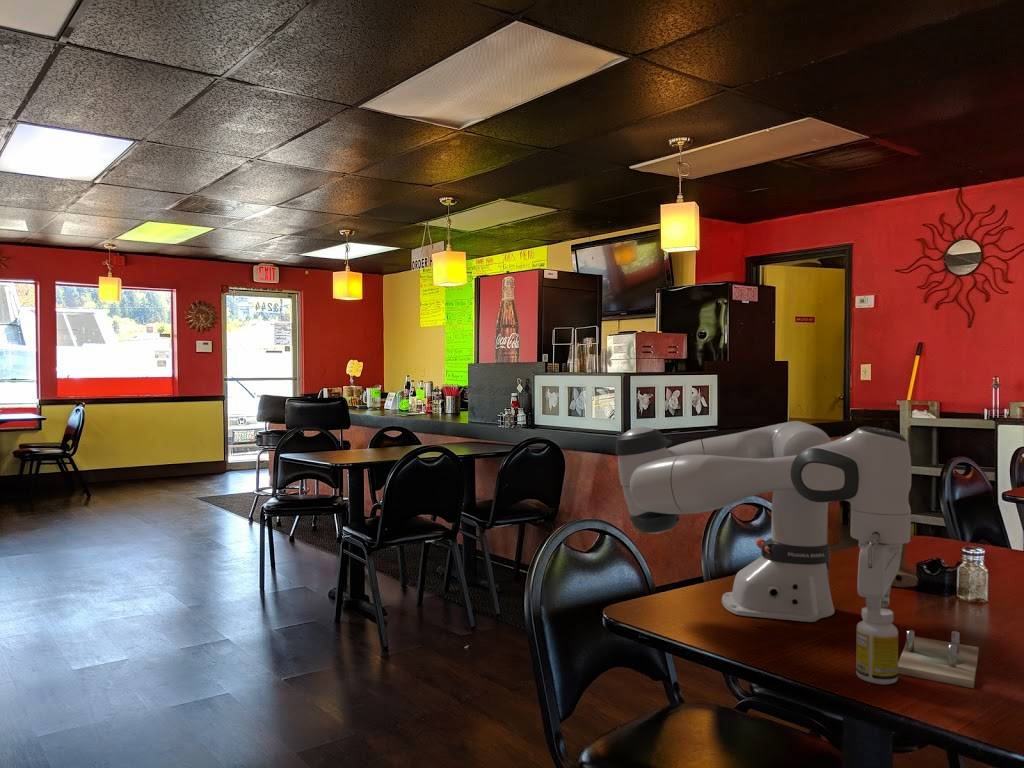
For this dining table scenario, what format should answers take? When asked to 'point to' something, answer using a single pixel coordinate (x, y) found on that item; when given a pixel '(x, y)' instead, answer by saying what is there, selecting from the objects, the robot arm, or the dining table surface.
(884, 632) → the pill bottle
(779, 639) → the dining table surface
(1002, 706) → the dining table surface
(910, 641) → the header pins
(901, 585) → the tan boot
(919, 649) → the light wood flat board
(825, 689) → the dining table surface
